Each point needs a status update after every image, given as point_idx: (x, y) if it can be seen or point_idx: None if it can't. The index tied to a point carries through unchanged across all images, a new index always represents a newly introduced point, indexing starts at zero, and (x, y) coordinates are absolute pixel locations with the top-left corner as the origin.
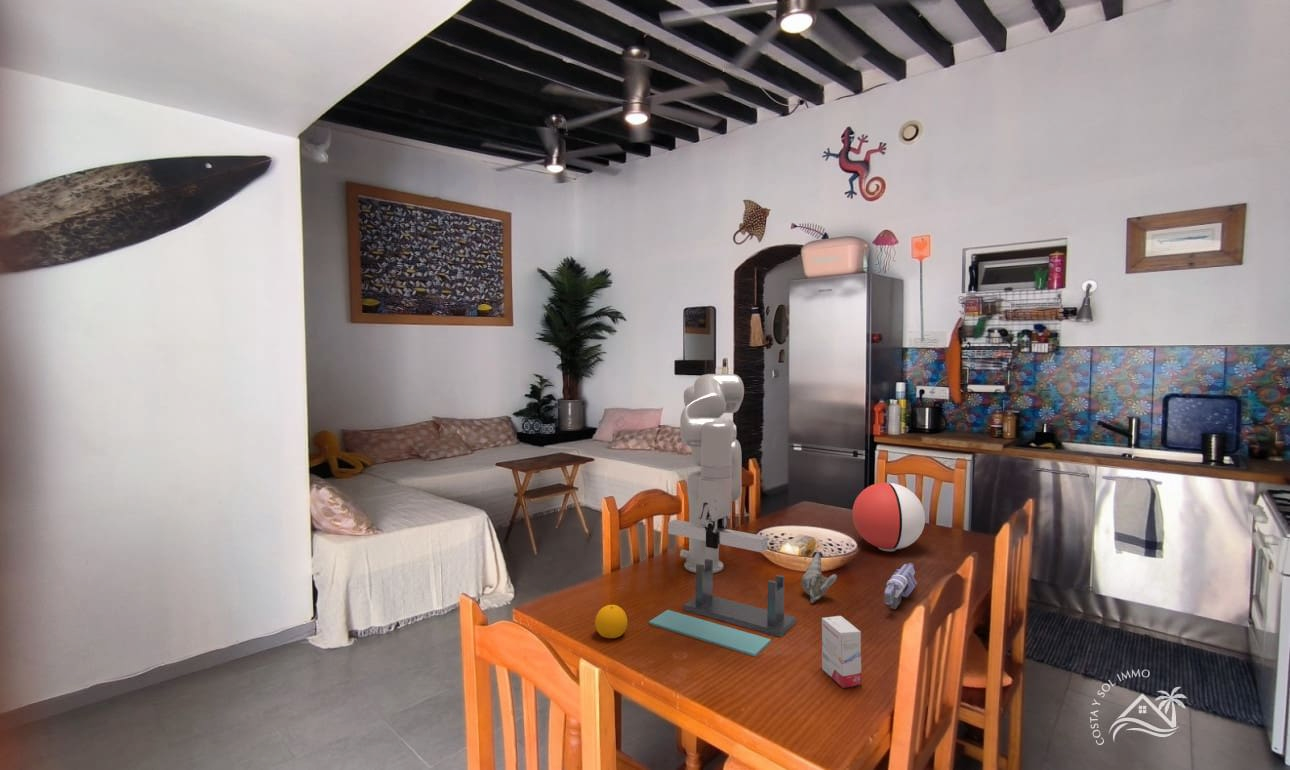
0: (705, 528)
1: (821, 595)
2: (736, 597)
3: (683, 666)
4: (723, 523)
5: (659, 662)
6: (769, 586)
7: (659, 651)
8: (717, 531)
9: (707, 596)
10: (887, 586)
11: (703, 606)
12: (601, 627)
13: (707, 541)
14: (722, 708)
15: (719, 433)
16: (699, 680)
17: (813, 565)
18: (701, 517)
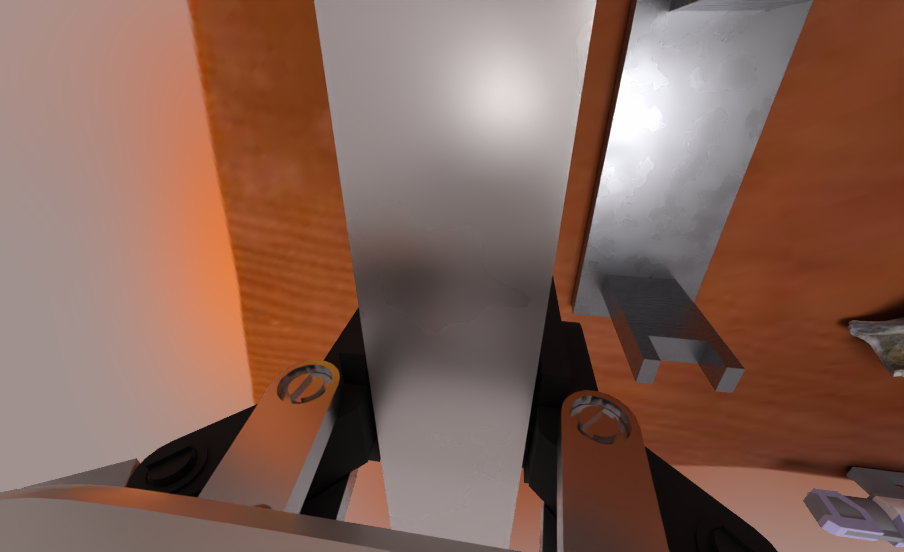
0: (223, 424)
1: (879, 358)
2: (872, 72)
3: (303, 168)
4: (542, 541)
5: (273, 103)
6: (636, 351)
7: (314, 64)
8: (381, 461)
9: (734, 7)
10: (900, 520)
11: (666, 20)
12: None
13: (354, 316)
14: (251, 297)
15: None
16: (286, 227)
17: None
18: (107, 509)
